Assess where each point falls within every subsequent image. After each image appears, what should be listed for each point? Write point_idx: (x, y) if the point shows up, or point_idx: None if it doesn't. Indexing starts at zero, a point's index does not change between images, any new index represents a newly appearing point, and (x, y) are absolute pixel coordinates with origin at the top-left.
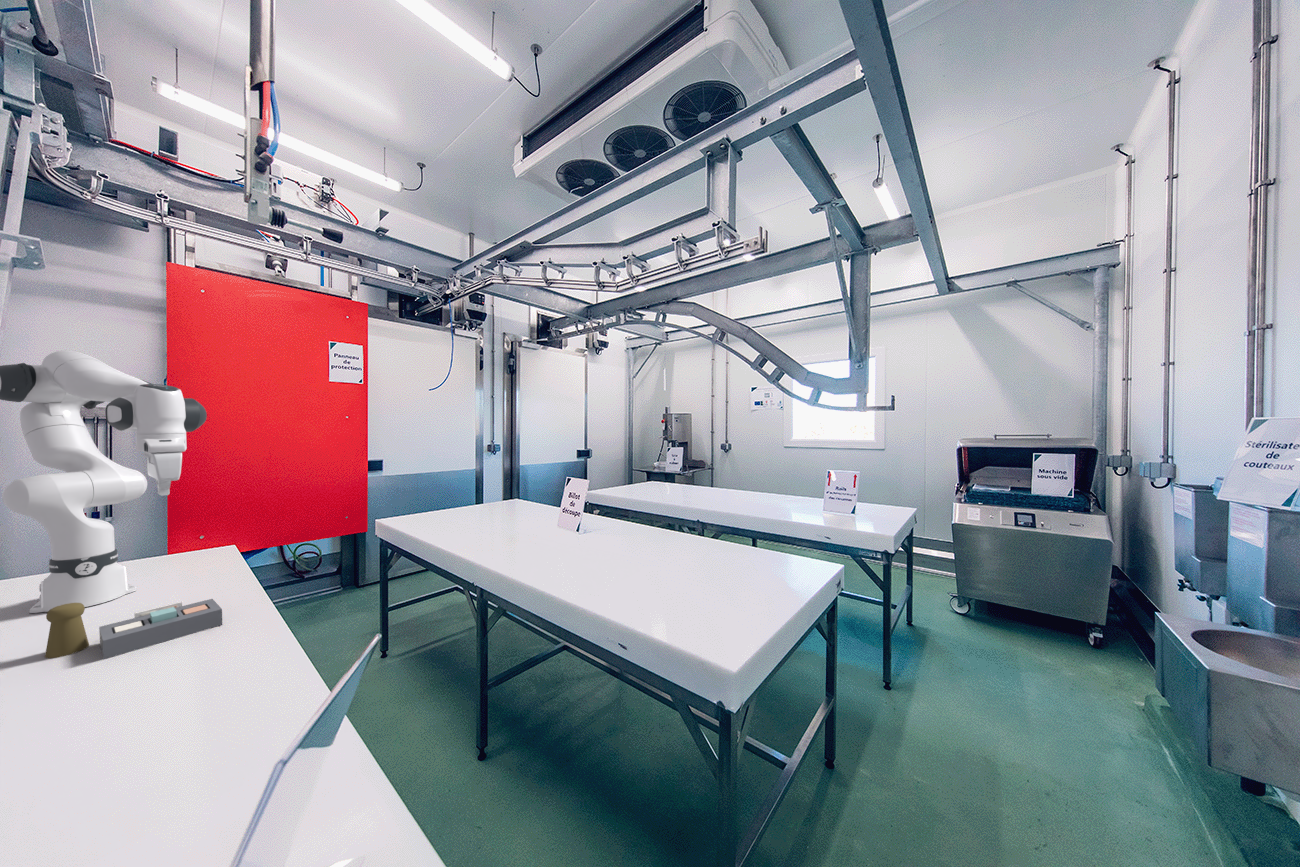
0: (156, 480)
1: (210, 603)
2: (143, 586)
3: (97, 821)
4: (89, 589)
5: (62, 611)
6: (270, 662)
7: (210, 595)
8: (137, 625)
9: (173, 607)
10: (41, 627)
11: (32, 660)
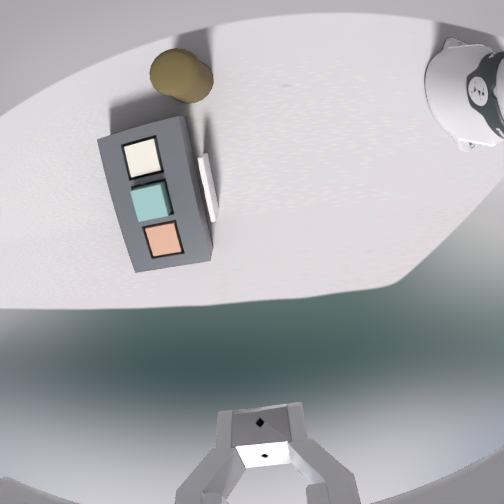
0: (315, 496)
1: (180, 258)
2: (475, 160)
3: None
4: (448, 93)
5: (150, 72)
6: (13, 291)
7: (333, 242)
8: (136, 170)
9: (163, 215)
10: (363, 40)
11: None
